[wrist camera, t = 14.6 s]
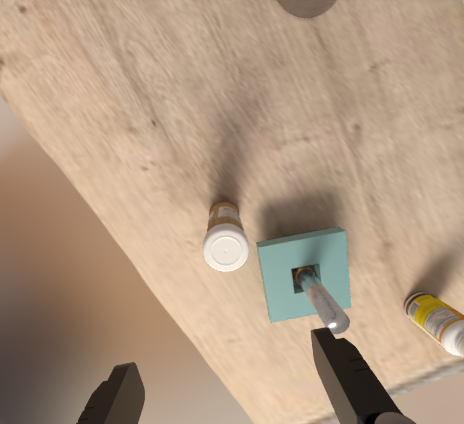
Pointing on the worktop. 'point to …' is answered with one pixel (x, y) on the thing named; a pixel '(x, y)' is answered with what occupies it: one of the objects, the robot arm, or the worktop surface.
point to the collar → (298, 255)
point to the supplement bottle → (437, 321)
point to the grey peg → (320, 299)
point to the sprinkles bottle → (225, 238)
